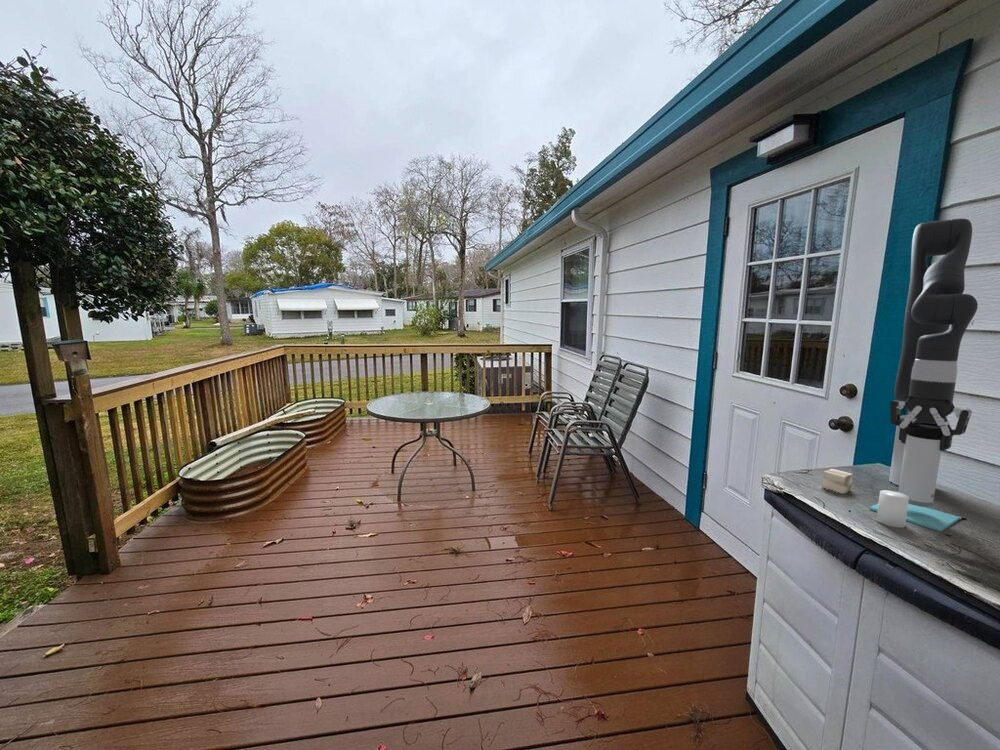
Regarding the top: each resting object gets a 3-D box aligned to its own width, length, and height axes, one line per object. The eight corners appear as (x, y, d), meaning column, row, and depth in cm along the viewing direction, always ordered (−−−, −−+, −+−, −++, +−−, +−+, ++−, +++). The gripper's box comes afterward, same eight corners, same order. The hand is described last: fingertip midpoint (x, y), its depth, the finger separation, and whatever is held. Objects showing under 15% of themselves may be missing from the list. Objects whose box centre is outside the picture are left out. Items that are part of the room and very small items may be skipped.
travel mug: (941, 508, 100) (954, 427, 98) (909, 505, 102) (921, 425, 99) (921, 498, 106) (933, 421, 104) (891, 495, 108) (901, 419, 105)
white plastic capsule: (881, 516, 103) (884, 488, 102) (908, 524, 99) (912, 496, 98) (872, 520, 101) (876, 492, 100) (900, 529, 96) (904, 500, 96)
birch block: (830, 485, 123) (832, 468, 123) (850, 491, 119) (852, 474, 119) (821, 488, 121) (823, 471, 120) (842, 494, 117) (844, 477, 116)
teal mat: (890, 499, 113) (890, 497, 113) (959, 519, 102) (959, 517, 102) (869, 509, 107) (869, 507, 107) (941, 531, 96) (941, 529, 96)
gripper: (982, 381, 96) (970, 452, 98) (899, 374, 108) (891, 437, 110) (972, 383, 92) (960, 457, 94) (887, 376, 105) (879, 441, 107)
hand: (923, 446), depth 102 cm, fingers closed on travel mug, 6 cm apart
